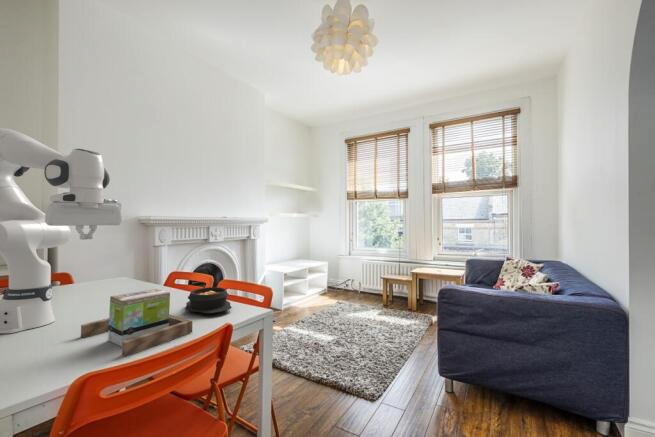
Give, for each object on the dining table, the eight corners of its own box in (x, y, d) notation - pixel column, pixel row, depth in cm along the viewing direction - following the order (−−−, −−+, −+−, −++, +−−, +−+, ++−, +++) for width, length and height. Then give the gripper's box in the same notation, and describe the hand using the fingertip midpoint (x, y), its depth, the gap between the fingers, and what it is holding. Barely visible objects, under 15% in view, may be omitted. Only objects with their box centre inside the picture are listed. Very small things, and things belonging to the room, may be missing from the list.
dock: (125, 356, 86) (125, 342, 86) (80, 336, 100) (81, 324, 100) (192, 332, 105) (192, 320, 105) (147, 318, 119) (147, 308, 119)
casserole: (241, 311, 130) (242, 292, 130) (199, 321, 117) (200, 300, 117) (215, 300, 147) (215, 283, 147) (175, 307, 134) (176, 289, 134)
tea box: (122, 348, 92) (123, 300, 92) (107, 340, 97) (108, 295, 97) (169, 333, 104) (170, 291, 104) (154, 327, 110) (155, 287, 110)
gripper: (116, 200, 109) (115, 237, 109) (43, 195, 91) (42, 240, 91) (125, 199, 106) (125, 238, 106) (51, 195, 88) (50, 241, 88)
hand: (86, 239), depth 98 cm, fingers closed
